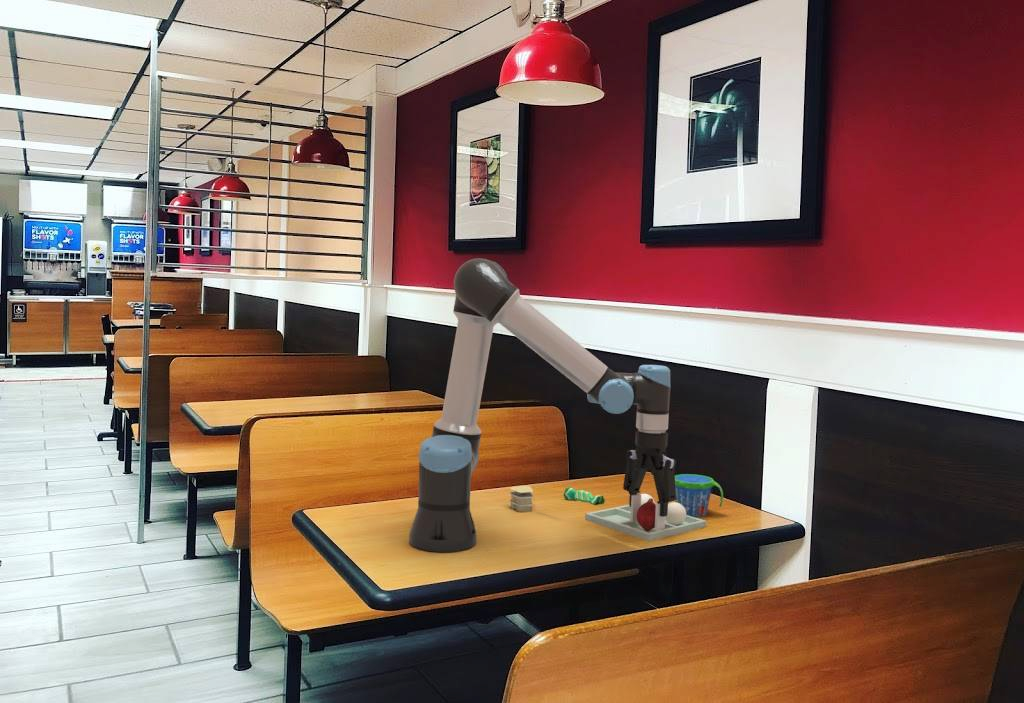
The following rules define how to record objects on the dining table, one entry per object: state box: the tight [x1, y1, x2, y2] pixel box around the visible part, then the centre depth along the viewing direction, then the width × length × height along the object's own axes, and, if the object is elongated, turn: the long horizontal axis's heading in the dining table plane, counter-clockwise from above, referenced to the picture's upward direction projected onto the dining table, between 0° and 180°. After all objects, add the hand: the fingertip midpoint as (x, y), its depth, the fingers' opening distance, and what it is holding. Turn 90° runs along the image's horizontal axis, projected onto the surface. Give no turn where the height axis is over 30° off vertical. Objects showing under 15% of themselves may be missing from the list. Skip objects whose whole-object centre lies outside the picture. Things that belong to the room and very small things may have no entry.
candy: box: [563, 486, 606, 506], centre depth 229 cm, size 12×3×4 cm
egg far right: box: [665, 501, 686, 525], centre depth 207 cm, size 6×6×6 cm
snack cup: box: [663, 473, 724, 518], centre depth 219 cm, size 16×10×10 cm
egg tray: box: [584, 504, 707, 542], centre depth 208 cm, size 21×21×2 cm
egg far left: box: [640, 493, 656, 505], centre depth 215 cm, size 6×6×6 cm
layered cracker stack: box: [509, 485, 534, 513], centre depth 221 cm, size 10×9×6 cm
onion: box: [637, 497, 656, 531], centre depth 200 cm, size 6×6×8 cm
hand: (647, 524), depth 201 cm, fingers open, 7 cm apart
